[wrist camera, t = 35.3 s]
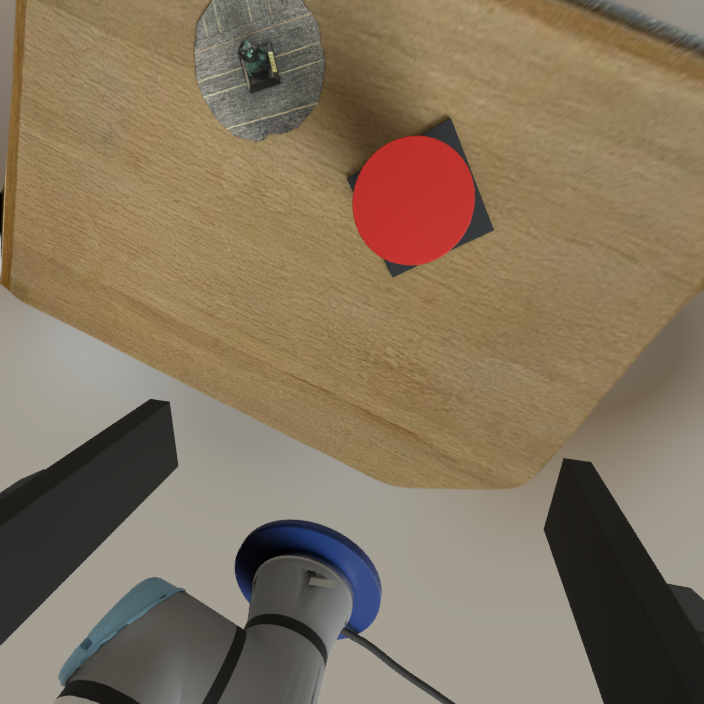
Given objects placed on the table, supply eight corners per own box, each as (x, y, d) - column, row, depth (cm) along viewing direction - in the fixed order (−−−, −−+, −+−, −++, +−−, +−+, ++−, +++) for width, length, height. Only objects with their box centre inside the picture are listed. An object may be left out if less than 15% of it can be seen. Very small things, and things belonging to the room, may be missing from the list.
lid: (354, 256, 28) (349, 260, 26) (361, 138, 25) (355, 133, 23) (462, 265, 27) (464, 270, 25) (481, 142, 24) (485, 137, 22)
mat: (493, 229, 35) (493, 230, 35) (393, 276, 39) (392, 277, 38) (450, 119, 33) (450, 118, 33) (347, 178, 36) (346, 178, 36)
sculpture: (352, 62, 33) (291, 100, 30) (315, 134, 41) (263, 170, 38) (250, -66, 31) (171, -41, 28) (231, 37, 39) (168, 66, 36)
